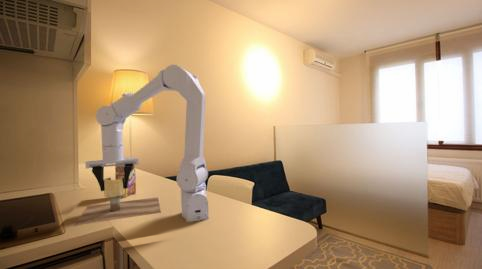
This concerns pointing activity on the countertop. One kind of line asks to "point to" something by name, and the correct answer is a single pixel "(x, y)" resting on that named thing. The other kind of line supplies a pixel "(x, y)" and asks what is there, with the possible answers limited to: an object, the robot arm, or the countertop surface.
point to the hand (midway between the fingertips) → (114, 189)
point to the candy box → (131, 181)
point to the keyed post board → (119, 210)
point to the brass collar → (114, 187)
